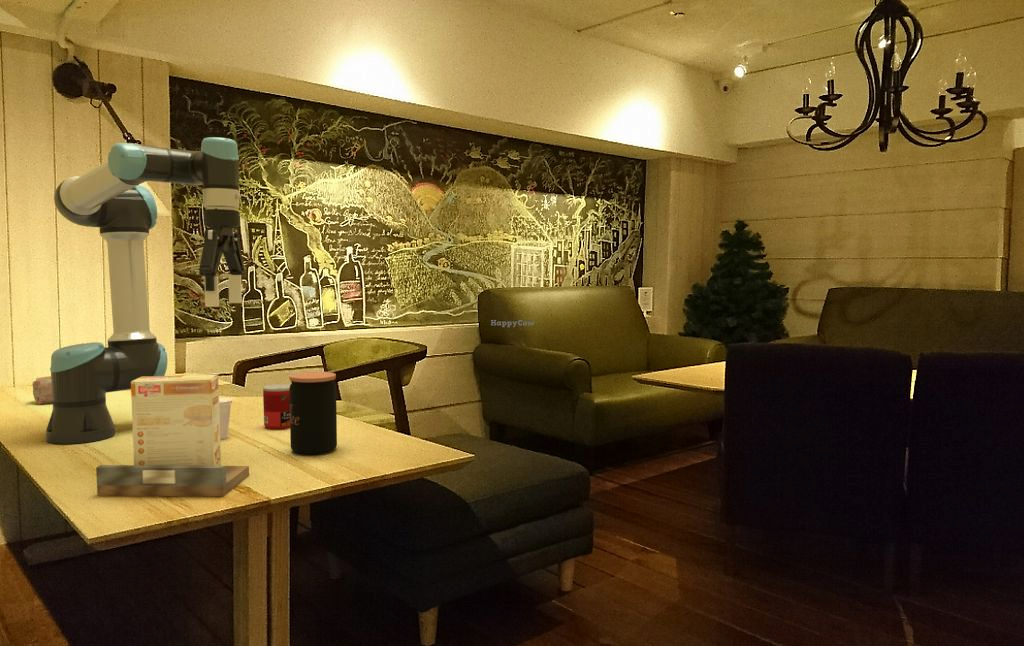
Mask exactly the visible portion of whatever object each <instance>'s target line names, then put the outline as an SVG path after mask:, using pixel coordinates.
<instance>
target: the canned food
mask: <svg viewBox="0 0 1024 646" xmlns="http://www.w3.org/2000/svg"><path fill="white" fill-rule="evenodd" d="M290 385H291V384H286V383H285V384H282V383H281V384H279V383H278V384H268V385H265V386H263V389H262V399H263V400H262V401H263V403H262V404H263V424H264V425H263V426H264V428H265V429H267V430H272V431H277V430H278V431H282V430H289V429H290V390H289V388H290Z"/></svg>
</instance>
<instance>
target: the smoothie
mask: <svg viewBox="0 0 1024 646" xmlns="http://www.w3.org/2000/svg"><path fill="white" fill-rule="evenodd" d="M232 404H233V399H232V398H230V397H219V414H220V441H221V440H226V439H227V438H228V436H229V435H228V434H229V426H230V419H231V418H230V417H231V410H232V409H231V408H232Z"/></svg>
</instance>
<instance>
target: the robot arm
mask: <svg viewBox="0 0 1024 646" xmlns="http://www.w3.org/2000/svg"><path fill="white" fill-rule="evenodd" d="M238 151H239V150H238V144H237V141H235V140H234V139H231V138H226V137H217V136H216V137H215V136H213V137H212V136H211V137H204V138H203V140H201V147H200V150H196V151H194V150H185V149H177V148H167V147H160V146H152V145H145V144H137V143H133V142H126V143H125V142H124V143H123V142H118V143H117V142H116V143H114V144H113V145H112V146H111V147H110V150H109V152H108V155H107V160H106V161H104V162H103V163H101V164H100V165H97V166H96V167H94V168H92V169H90V170H89V171H87V172H86V173H84V174H82V175H74V176H69V177H68V178H66V179H64V180H63V181H61V183H59V184H58V185H57V187H56V189H55V191H54V194H53V196H54V197H53V201H54V206H55V208H56V209H57V211H58V213H60V214H61V216H62V217H63V218H64V219H66V220H67V221H69V222H71V223H73V224H76V225H78V226H82V227H87V228H98V229H99V236H100V237H102V239H104V241H106V246H107V259H108V271H109V272H108V274H109V276H108V277H109V289H110V303H111V304H110V305H111V316H112V329H113V333H112V334H111V336H109V338H108V339H107V347H105V345H104V343H102V342H99V341H98V342H97V341H96V342H95V341H94V342H87V343H77V344H72V345H67V346H63V347H60V348H58V349H56V350H55V351H53V352H52V354H51V356H50V368H49V371H50V376H51V380H52V400H53V404H52V412H51V415H50V417H49V421H48V424H47V427H46V430H45V441H46V442H47V443H50V444H55V445H56V444H58V445H61V444H62V445H64V444H65V445H69V444H81V443H84V444H85V443H92V442H97V441H102V440H105V439H108V438H111V437H113V436H115V434H116V429H115V428H116V427H115V426H116V425H115V423H114V421H113V419H112V416H111V414H110V411H109V409H108V406H107V395H106V394H107V393H112V392H113V393H115V392H121V391H129V390H130V391H131V381H133V380H135V379H137V378H139V377H143V376H166V371H167V368H168V353H167V351H166V348H165V346H164V345H163V344H162V343H160V342H157V340H158V339H157V336H156V335H155V334H154V333H152V332H151V330H150V316H149V315H150V314H149V304H148V303H149V302H148V289H147V273H146V260H145V259H146V257H145V245H144V241H145V240H147V238H148V237H149V236H150V230H152V229H153V228H155V227H156V224H157V219H158V207H157V202H156V199H155V198H154V195H153V194H152V193H151V192H150V190H149V189H148V188H147V187H145V186H143V185H142V184H143V183H145V182H155V183H156V182H157V183H158V182H160V183H170V184H180V185H181V186H186V187H198V186H201V185H202V207H203V208H204V211H203V225H204V227H207V228H211V229H205V230H204V240H203V246H202V251H201V252H202V253H201V258H200V263H199V269H198V272H199V273H198V274H199V276H200V277H203V278H204V306H205V307H208V308H209V307H211V308H212V307H216V308H218V307H220V289H219V287H220V286H219V276H217V272H218V270H219V267H220V263H221V259H222V257H223V258H224V260H225V263H226V266H227V268H228V271H229V274H227V276H228V279H227V280H228V281H227V282H228V304H242V302H243V299H242V298H243V297H242V291H243V290H242V276H244V275H246V269H245V268H246V267H245V264H244V258H243V254H242V249H241V243H240V234H239V232H238V231H237V232H236V231H234V232H233V228H239V227H240V226H241V221H240V220H241V217H240V216H241V213H240V212H239V210H237V209H239V208H240V199H241V198H242V195H241V194H240V191H239V189H240V188H239V187H240V176H239V175H240V174H239V173H240V170H239V169H240V168H239V166H240V165H239V164H240V163H239V162H240V161H239V160H240V157H239V152H238Z"/></svg>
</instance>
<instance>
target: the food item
mask: <svg viewBox="0 0 1024 646" xmlns="http://www.w3.org/2000/svg"><path fill="white" fill-rule="evenodd" d="M35 378H36V379H35V380H33V381H32V395H33V399H34V401H35V402H36V403H37V405H39V406H44V405H53V400H52V380H51V375H50V376H41V377H35Z"/></svg>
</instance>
